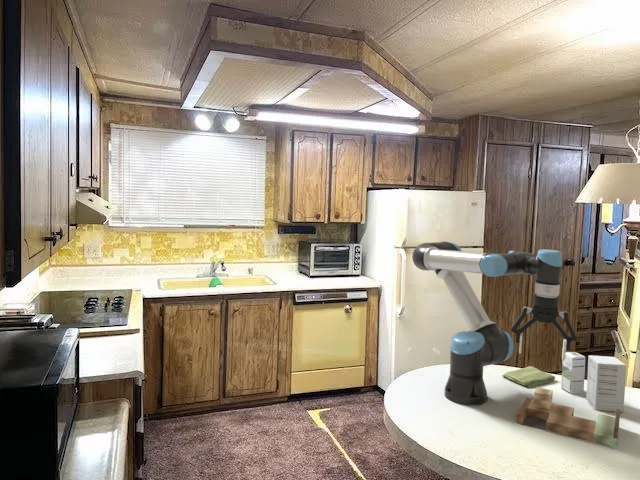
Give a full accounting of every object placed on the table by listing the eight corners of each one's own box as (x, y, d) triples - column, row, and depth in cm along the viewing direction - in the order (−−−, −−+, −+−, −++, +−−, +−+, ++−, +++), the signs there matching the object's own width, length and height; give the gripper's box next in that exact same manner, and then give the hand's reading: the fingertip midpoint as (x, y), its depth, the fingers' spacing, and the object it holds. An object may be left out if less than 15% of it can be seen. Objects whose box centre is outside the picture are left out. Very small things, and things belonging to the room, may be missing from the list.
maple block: (533, 406, 159) (534, 392, 159) (536, 401, 163) (536, 387, 163) (549, 410, 157) (550, 395, 156) (552, 404, 161) (552, 390, 160)
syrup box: (584, 393, 178) (586, 356, 176) (570, 394, 177) (572, 357, 175) (574, 387, 183) (576, 351, 182) (560, 388, 182) (562, 352, 181)
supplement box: (624, 413, 162) (627, 365, 160) (595, 410, 163) (597, 363, 162) (613, 401, 171) (615, 356, 169) (585, 399, 173) (587, 354, 171)
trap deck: (516, 422, 154) (516, 405, 153) (525, 405, 167) (526, 389, 166) (616, 448, 138) (618, 429, 137) (619, 427, 151) (620, 409, 151)
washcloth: (500, 378, 194) (500, 370, 193) (531, 371, 201) (531, 364, 201) (526, 389, 182) (526, 381, 182) (557, 382, 189) (558, 374, 189)
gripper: (506, 293, 161) (502, 353, 163) (589, 302, 151) (583, 365, 153) (507, 289, 167) (503, 346, 170) (587, 297, 158) (581, 358, 160)
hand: (541, 355), depth 162 cm, fingers open, 13 cm apart
